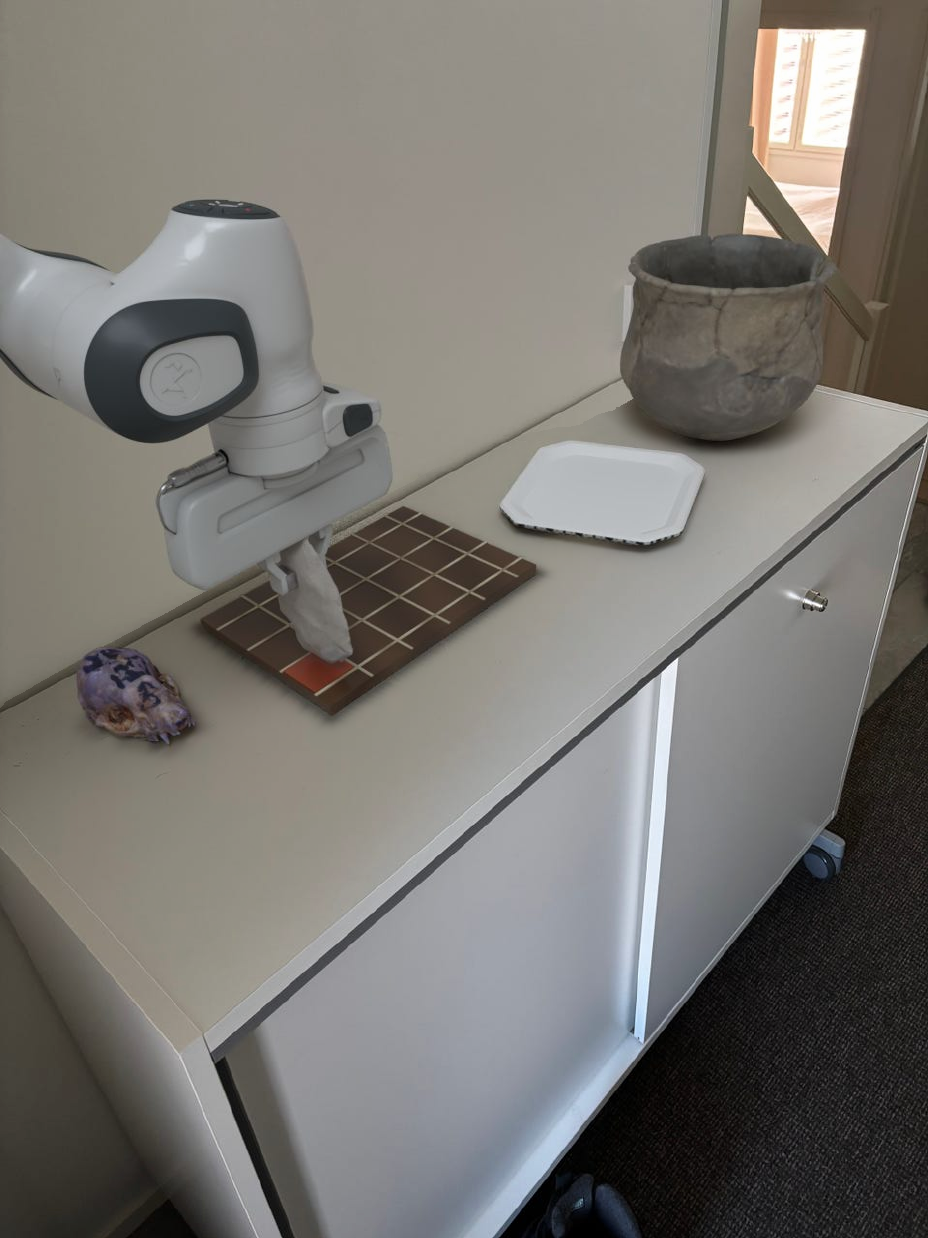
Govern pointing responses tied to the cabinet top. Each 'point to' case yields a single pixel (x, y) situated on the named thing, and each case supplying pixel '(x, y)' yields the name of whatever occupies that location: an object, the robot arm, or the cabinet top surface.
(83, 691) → the skull
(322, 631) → the stone tool
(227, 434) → the robot arm
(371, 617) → the board
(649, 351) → the pot
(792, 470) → the cabinet top surface
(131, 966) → the cabinet top surface
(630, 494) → the plate
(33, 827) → the cabinet top surface
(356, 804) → the cabinet top surface
